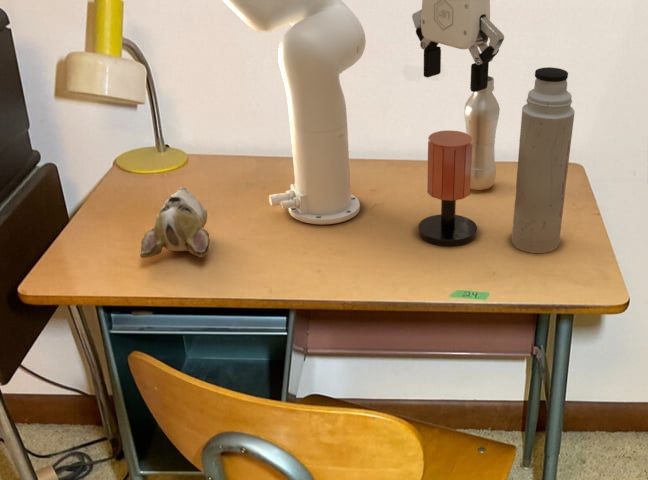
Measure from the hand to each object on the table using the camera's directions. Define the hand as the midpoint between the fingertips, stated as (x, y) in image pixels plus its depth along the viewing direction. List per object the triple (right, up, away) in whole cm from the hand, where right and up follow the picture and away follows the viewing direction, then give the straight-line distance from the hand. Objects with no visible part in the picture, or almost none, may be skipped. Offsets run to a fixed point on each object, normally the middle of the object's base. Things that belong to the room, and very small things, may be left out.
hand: (455, 82), depth 129 cm
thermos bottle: (+14, -22, +13) cm, 29 cm away
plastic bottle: (+5, -8, +31) cm, 32 cm away
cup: (-1, -14, +11) cm, 18 cm away
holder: (-1, -20, +15) cm, 25 cm away
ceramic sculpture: (-44, -24, +9) cm, 51 cm away
